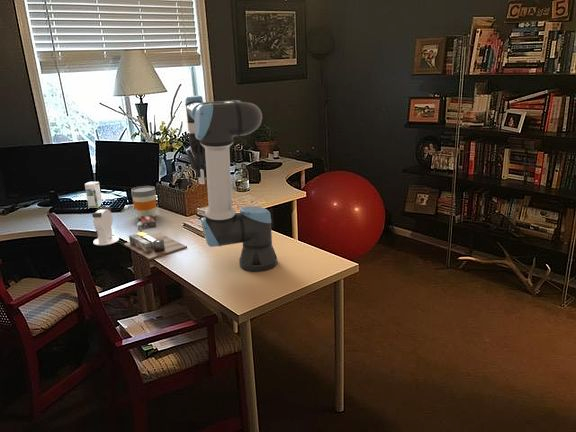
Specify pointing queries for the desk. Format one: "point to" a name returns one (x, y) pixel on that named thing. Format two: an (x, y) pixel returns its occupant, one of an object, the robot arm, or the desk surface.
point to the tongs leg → (153, 242)
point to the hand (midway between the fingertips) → (201, 183)
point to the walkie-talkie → (146, 222)
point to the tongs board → (147, 251)
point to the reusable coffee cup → (144, 200)
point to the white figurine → (104, 227)
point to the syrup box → (93, 194)
